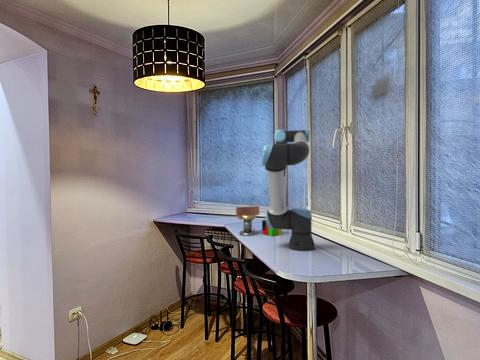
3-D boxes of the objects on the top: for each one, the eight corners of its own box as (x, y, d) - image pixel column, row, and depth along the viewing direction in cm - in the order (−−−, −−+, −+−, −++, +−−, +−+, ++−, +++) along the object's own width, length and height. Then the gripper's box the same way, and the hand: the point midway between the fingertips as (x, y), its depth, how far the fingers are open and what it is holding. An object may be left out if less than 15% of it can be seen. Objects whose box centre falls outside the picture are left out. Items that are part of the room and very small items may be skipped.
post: (257, 235, 220) (257, 220, 220) (241, 236, 218) (241, 221, 218) (253, 232, 232) (253, 218, 232) (237, 233, 230) (237, 218, 229)
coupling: (238, 220, 217) (238, 208, 217) (234, 218, 226) (234, 206, 226) (261, 219, 223) (261, 207, 223) (255, 217, 232) (255, 205, 232)
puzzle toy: (271, 232, 231) (271, 219, 231) (281, 234, 224) (281, 220, 224) (262, 234, 225) (262, 220, 225) (272, 236, 217) (272, 222, 217)
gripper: (289, 152, 206) (290, 187, 207) (283, 153, 219) (283, 186, 220) (279, 151, 205) (279, 187, 205) (273, 153, 217) (273, 186, 218)
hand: (281, 187), depth 212 cm, fingers closed
